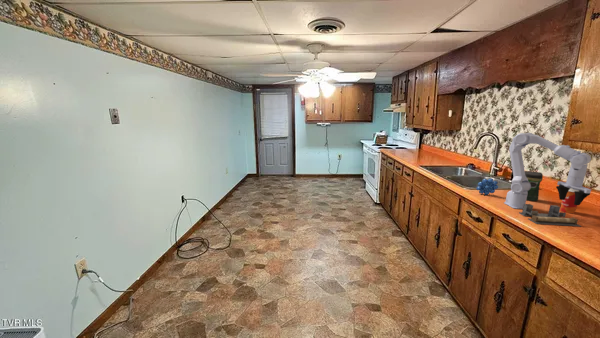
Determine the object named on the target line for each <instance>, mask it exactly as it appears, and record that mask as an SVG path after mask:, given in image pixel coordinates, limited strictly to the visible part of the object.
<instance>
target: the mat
mask: <svg viewBox="0 0 600 338" xmlns="http://www.w3.org/2000/svg"><path fill="white" fill-rule="evenodd" d="M527 220H529V221H530V222H532V223H534V224H535V225H544V226H545V225H549V226H564V227H579V228H580V227H582V225H580V224H579V223H577V224H573V223H561V222H544V221H537V222H535V221H533V220H532V218H527Z"/></svg>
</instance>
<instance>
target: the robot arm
mask: <svg viewBox="0 0 600 338" xmlns="http://www.w3.org/2000/svg"><path fill="white" fill-rule="evenodd" d="M530 144H534V145H535V144H536V145H539V146H542V147H543V148H546V149H548V150H551V151H553V153H554V155H556V156H558V157H559V158H562V159H564V160H566V161H569V162H570V167H569V170H568V173H567V174H568V175H567V176H566V177H567V178H566V181H560V180H559V181H557V184H556V185H557V186H555V187H556V189H557V192H558V193H557V194H558V199H559V200H561V201H562V200H565V198H566V195H567V192H568V191H569V189H570V188H571V189H575V190H578V191H574V193H575V201H574V205H577V206H580V205H581V204H582V202H583V201H584V200H585V199H586V198H587V197H589V196H590V195H591V192H592V189H591V188H588V187H585V186H584V185H583V184H584V182H585V181H584V180H585V178H586V174H587V169H588V166H589V163H590V162H591V160H592V157H591V155H589V154H588V153H586V152H585V153H584V152H582V151H581V150H576V149H574V148H571V146H570V145H569V144H567V145H565V144H562V145H558V144H557V143H555V142H552V141H550V140H548V139H546V138H544V137H542V136H540V135H538V134H534V133H532V132H524V133H523V132H520V133H517V134H516V135H515V136H514V137H512V141H511V142H510V145H509V148H508V149H509V157H510V163H511V169H512V170H511V171H512V175H513V178H512V180H511V185H510V190H509V191H507V193H506V198H505V201H504V202H503V204H504V205H507V206H509V207H510V208H512V209H517V210H518V209H519V210H523V206H524V204H527V200H526V199H527V195H528V192H527V191H528V190H530V188H531V184H530V183H529V182H528V179H527V177H526V176H525V171H526V170H525V165H524V158H523V152H522V150H523V149H524V148H525V147H526V146H527V145H530Z"/></svg>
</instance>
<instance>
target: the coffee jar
mask: <svg viewBox="0 0 600 338" xmlns="http://www.w3.org/2000/svg"><path fill="white" fill-rule="evenodd" d="M525 176H526V177H527V179H528V182H529V183H530V184H531V188H530V190H528V191H527V192H528V195H527V199H526V201H530V202H536V201H538V200H539V197H540V196H539V195H540V185H541V182H542V181H543V177H544V176H543V173H542V172H538V171H533V170H532V171H531V170H530V171H528V170H525Z"/></svg>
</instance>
